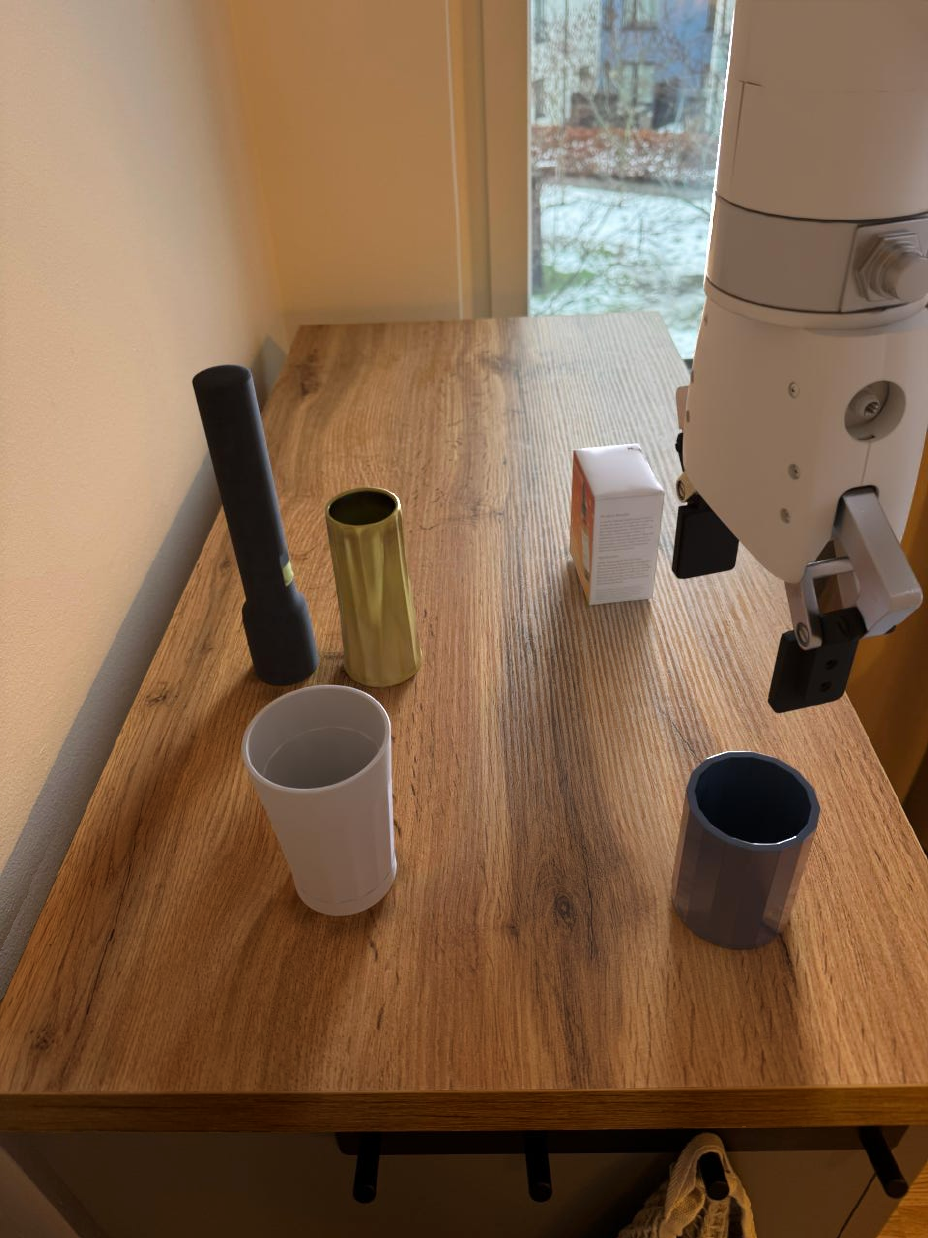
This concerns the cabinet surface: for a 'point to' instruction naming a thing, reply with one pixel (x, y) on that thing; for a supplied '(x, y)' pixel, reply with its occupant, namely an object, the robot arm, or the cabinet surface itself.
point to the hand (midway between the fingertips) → (749, 631)
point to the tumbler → (742, 848)
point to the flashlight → (255, 527)
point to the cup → (327, 793)
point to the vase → (373, 587)
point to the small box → (615, 523)
